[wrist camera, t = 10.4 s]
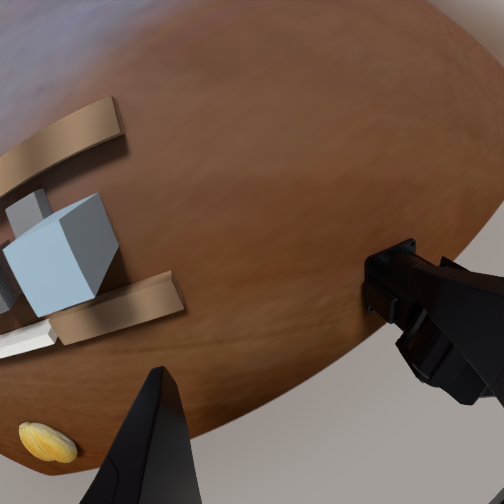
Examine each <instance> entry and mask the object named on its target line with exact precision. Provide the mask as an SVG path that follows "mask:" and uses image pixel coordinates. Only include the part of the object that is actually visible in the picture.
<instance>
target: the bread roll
mask: <svg viewBox="0 0 504 504" xmlns="http://www.w3.org/2000/svg"><path fill="white" fill-rule="evenodd" d="M19 434H20V438H21V440H22V442H23V444H24V446H25V447H26V448H27V450H28V451H29V452H30V453H32V454H33V455H34V456H36V457H37V458H39V459H41V460H44V461H53V460H57V461H59V462H63V463H69V462H71V461H73V460H74V459H75V458H76V456H77V449H76V446H75V443H74V442H73V441H72V440H71V439H70V438H69V437H67V436H66V435H65V434H63V433H61V432H59V431H57V430H56V429H54V428H52V427H49V426H47V425H45V424H41V423H30V422H25V423H22V424H21V425H20V427H19Z"/></svg>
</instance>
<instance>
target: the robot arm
mask: <svg viewBox="0 0 504 504" xmlns="http://www.w3.org/2000/svg"><path fill="white" fill-rule="evenodd" d="M415 251H416V241H415V240H414V239H412V238H410V239H408V240H406V241H403V242H401V243H399V244H397V245H394V246H392V247H390V248H388V249H385V250H383V251H381V252H378V253H376V254H374V255H371V256H369V257H368V258H367V259H366V311H367V312H368V313H373V312H375V311H376V312H377V313H378V314H379V315H380V316H382V317H383V318H384V319H385V320H386V321H387V322H388V323H390V324H392V323H394V324H396V325H397V326H398V327H399V328H400V329H401V330H402V331H403V334H402V335H401V337H400V338H399V339H398V340H397V342H396V343H395V345H396V346H397V347H398V349H399V351H400V353H401V354H402V356H403V358H404V359H405V361H406V362H407V364H408V365H409V367H410V368H411V370H412V371H413V373H414V374H415V376H416V377H417V378H418V379H419V380H420V381H421V382H422V383H426V384H428V385H430V386H433V387H437V388H438V387H440V388H441V389H443V390H444V391H446V392H447V393H448V394H449V395H451V396H452V397H453V398H454V399H455V400H456V401H458V402H459V403H460V404H464V405H473V404H474V403H475V402H476V401H477V400H478V398H485V397H496V398H497V399H498V400H499V402H500V403H501V405H502V406H503V407H504V277H498V276H494V275H488V274H482V273H475V272H471V271H469V270H467V269H465V268H464V267H462V266H460V265H458V264H456V263H455V262H453V261H451V260H449V259H447V258H445V257H444V256H442V258H441V261H440V262H441V263H440V265H439V266H435V265H434V264H432V263H430V262H428V261H427V260H425V259H423V258H421V257H420V256H418V255H416V254H415ZM371 261H372V262H371ZM370 262H371V263H370ZM79 504H202V501H201V496H200V492H199V487H198V482H197V477H196V473H195V468H194V461H193V456H192V450H191V444H190V437H189V431H188V426H187V422H186V419H185V415H184V411H183V407H182V403H181V399H180V395H179V391H178V387H177V384H176V382H175V381H174V379H173V378H172V376H171V375H170V373H169V372H168V370H167V369H166V368H165V367H164V366H160V367H156V368H153V369H152V370H151V371H150V373H149V375H148V376H147V378H146V380H145V382H144V384H143V386H142V388H141V389H140V391H139V393H138V395H137V397H136V399H135V401H134V403H133V405H132V406H131V408H130V410H129V412H128V414H127V416H126V418H125V420H124V422H123V424H122V426H121V428H120V430H119V432H118V434H117V436H116V437H115V439H114V441H113V443H112V445H111V447H110V449H109V451H108V455H106V457H105V459H104V461H103V463H102V465H101V467H100V469H99V471H98V473H97V475H96V477H95V479H94V480H93V482H92V484H91V485H90V487H89V489H88V490H87V492H86V494H85V495H84V497H83V498H82V500H81V501H80V503H79ZM489 504H504V488H503V489H502V490H501V491H500V492H499V493H498V494H497V495H496V497H495V498H494V499H493V500H492V501H491V502H490V503H489Z"/></svg>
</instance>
